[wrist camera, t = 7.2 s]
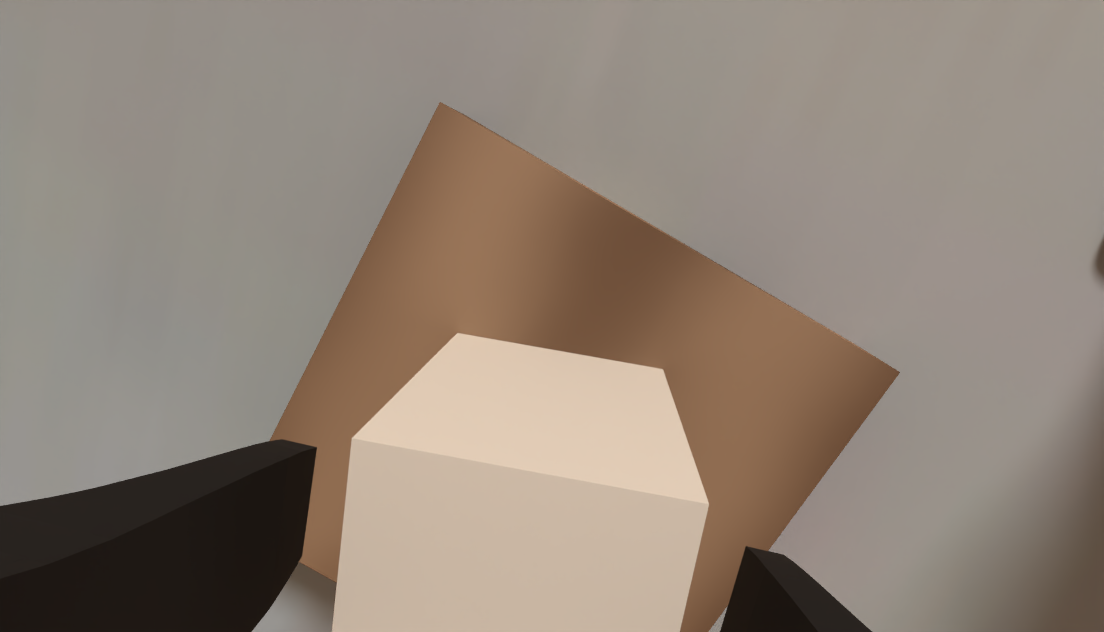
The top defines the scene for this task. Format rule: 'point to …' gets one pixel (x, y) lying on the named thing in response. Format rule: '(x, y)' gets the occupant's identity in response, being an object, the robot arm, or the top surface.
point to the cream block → (520, 499)
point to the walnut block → (581, 338)
